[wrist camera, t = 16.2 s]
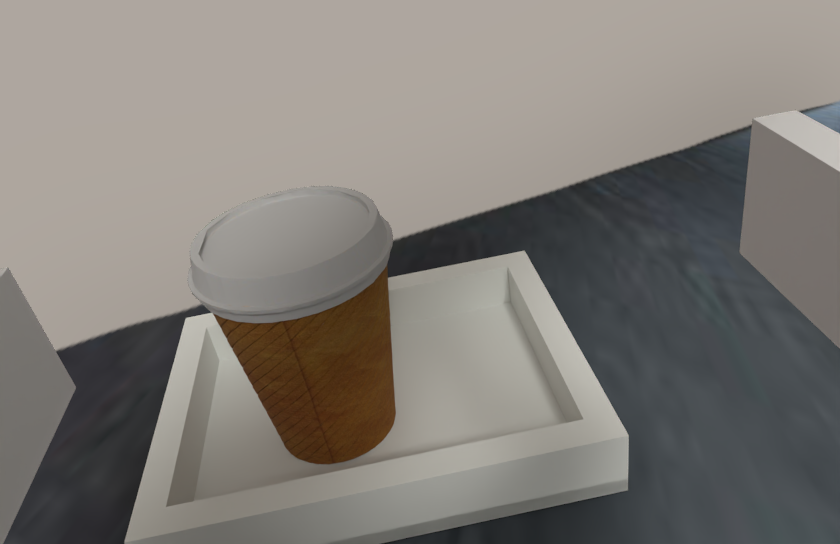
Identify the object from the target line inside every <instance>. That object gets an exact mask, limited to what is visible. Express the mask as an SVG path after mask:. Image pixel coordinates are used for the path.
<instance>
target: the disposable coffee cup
mask: <svg viewBox="0 0 840 544" xmlns="http://www.w3.org/2000/svg"><path fill="white" fill-rule="evenodd" d="M392 245H393V235H392V230H391V227H390V225H389V223H388V222H387V221H386V220H385V219H384V218H383V217H382V216H380V214H379V212H378V209H377V207H376V205H375V204H374V202H373V200H371V199H370V198H369V197H367V196H366V195H364V194H363V193H360V192H358V191H355V190H352V189H347V188H341V187H333V186H312V187H303V188H296V189H289V190H285V191H280V192H276V193H272V194H267V195H264V196H261V197H258V198H256V199H253V200H250V201H247V202H244V203H242V204H240V205H238V206H236V207H234V208H232V209H230V210H228V211H226V212H224V213H222V214H221V215H219V216H218V217H216V218H215V219H213V220H212V221H211V222H210V223H209V224H207V225H206V226H205V227H204V228H203V229H202V230H201V231H200V232H199V233H198V234H197V236H196V237H195V238H194V240H193V242H192V244H191V248H190V260H191V267H190V269H189V273H188V285H189V288H190V290H191V292H192V294H193V295H194V296H195V297H196V298H197V299H198V300H199V301H200V302H201V303H202V304H203V305H204V306H205V307H206V308H207V309H208V310H209V311H211V312H212V313H213V315H214V317H215V318H216V320H217V322H218V324H219V326H220V328H222V332H223V333H224V335H225V337H226V338H227V341H228V343H229V345H230V347H231V348H233V352H234V354H235V355H236V357H237V358H238V361H239V363H240V364H241V366H242V367H243V370H244V372H245V374H246V375H247V376H248V377H247V378H248V379H249V381H250V383H251V384H252V385H253V386H252V387H253V389H254V390H255V392H256V394H258V398H259V399H260V401H261V403H262V405H263V407H264V408H265V410H266V411H267V414H268V416H269V418H270V419H271V421H272V423H273V425H274V427H275V428H276V431H277V433H278V434H279V436H280V438H281V440H282V442H283V443H284V446H285V448H286V449H287V450H288V451H289V452H290V454H292V455H293V456H295V457H296V458H298V459H300V460H303V461H306V462H309V463H314V464H334V463H340V462H345V461H349V460H352V459H355V458H357V457H359V456H361V455H364V454H365V453H367V452H369V451H370V450H372V449H373V448H375V447H376V446H377V445H378V444H379V443H381V442H382V441H383V440H384V438H385V437H386V436H387V434H388V433H389V432H390V430H391V428H392V426H393V424H394V420H395V416H396V409H395V394H394V378H393V362H392V343H391V323H390V307H389V290H388V274H387V272H388V271H387V262H388V259H389V255H390V250H391V248H392Z"/></svg>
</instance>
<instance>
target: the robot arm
mask: <svg viewBox="0 0 840 544" xmlns="http://www.w3.org/2000/svg"><path fill="white" fill-rule="evenodd" d="M739 253H740V254H741V255H742V256H743V257H744V258H745V259H746V260H748V261H749V262H750V263H751V264H752V265H753V266H754V267H755V268H756V269H757V270H758V271H759V272H760V273H761V274H762V275H763V276H764V277H765V278H766V279H767V280H768V281H769V282H771V283H772V284H773V285H774V286H775V287H776V288H777V289H778V290H779V291H780V292H781V293H782V294H783V295H784V296H785V297H786V298H787V299H788V300H789V301H790V302H791V303H793V304H794V305H795V306H796V307H797V308H798V309H799V310H800V311H801V312H802V313H803V314H804V315H805V316H806V317H807V318H808V319H809V320H810V321H811V322H812V323H813V324H814V325H816V326H817V327H818V328H819V329H820V330H821V331H822V332H823V333H824V334H825V335H826V336H827V337H828V338H829V339H830V340H831V341H832V342H833V343H834V344H835V345H836V346H838V347H839V348H840V134H839V133H837V132H835V131H833V130H832V129H830V128H828V127H826V126H824V125H822V124H820V123H819V122H817V121H815V120H813V119H811V118H809V117H807V116H806V115H804V114H802V113H800V112H798V111H796V110H793V111H787V112H783V113H777V114H772V115H767V116H762V117H758V118H753V120H752V130H751V140H750V150H749V160H748V171H747V181H746V191H745V201H744V211H743V222H742V232H741V242H740V252H739ZM75 389H76V387H75V385H74V383H73V381H72V379H71V378H70V376H69V374H68V372H67V371H66V369H65V367H64V365H63V364H62V362H61V360H60V358H59V356H58V355H57V353H56V351H55V349H54V348H53V346H52V344H51V342H50V341H49V339H48V337H47V335H46V333H45V332H44V330H43V329H42V326H41V325H40V323H39V321H38V319H37V318H36V316H35V314H34V312H33V311H32V309H31V307H30V305H29V304H28V302H27V300H26V299H25V296H24V295H23V293H22V291H21V289H20V288H19V286H18V284H17V282H16V280H15V279H14V277H13V275H12V273H11V272H10V270H9V268H8V267H7V268H2V269H0V544H3V542H4V540H5V538H6V536H7V534H8V532H9V530H10V528H11V525H12V523H13V521H14V519H15V517H16V515H17V513H18V510H19V508H20V506H21V504H22V502H23V500H24V498H25V495H26V493H27V491H28V489H29V487H30V485H31V483H32V481H33V478H34V476H35V474H36V472H37V470H38V468H39V466H40V463H41V461H42V459H43V457H44V455H45V453H46V451H47V449H48V446H49V444H50V442H51V440H52V438H53V436H54V434H55V431H56V429H57V427H58V425H59V423H60V421H61V419H62V417H63V414H64V412H65V410H66V408H67V406H68V404H69V402H70V399H71V397H72V395H73V393H74V391H75Z"/></svg>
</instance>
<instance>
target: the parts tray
mask: <svg viewBox="0 0 840 544" xmlns="http://www.w3.org/2000/svg"><path fill="white" fill-rule="evenodd" d="M388 290H389V307H390V323H391V343H392V362H393V378H394V394H395V409H396V416H395V420H394V424H393V426H392V428H391V430H390V432H389V433H388V434H387V436H386V437H385V438H384V440H383V441H382V442H381V443H379V444H378V445H377V446H376V447H375V448H373V449H372V450H370V451H369V452H367V453H365V454H364V455H361V456H359V457H357V458H355V459H352V460H349V461H345V462H340V463H334V464H314V463H309V462H306V461H303V460H300V459H298V458H296V457H295V456H293V455H292V454H290V452H289V451H288V450H287V449H286V448H285V446H284V443H283V442H282V440H281V438H280V436H279V434H278V433H277V431H276V428H275V427H274V425H273V423H272V421H271V419H270V418H269V416H268V414H267V411H266V410H265V408H264V407H263V405H262V403H261V401H260V399H259V398H258V394H256V392H255V390H254V389H253V387H252V386H253V385H252V384H251V383H250V381H249V379H248V378H247V377H248V376H247V375H246V374H245V372H244V370H243V367H242V366H241V364H240V363H239V361H238V358H237V357H236V355H235V354H234V352H233V348H231V347H230V345H229V343H228V341H227V338H226V337H225V335H224V333H223V332H222V328H220V326H219V324H218V322H217V320H216V318H215V317H214V315H213V313H209V314H204V315H199V316H194V317H189V318H186V320H185V323H184V327H183V331H182V334H181V338H180V342H179V345H178V349H177V353H176V356H175V360H174V363H173V367H172V371H171V374H170V378H169V382H168V385H167V389H166V392H165V396H164V400H163V403H162V407H161V411H160V414H159V418H158V422H157V425H156V429H155V432H154V436H153V440H152V443H151V447H150V451H149V454H148V458H147V461H146V465H145V469H144V472H143V476H142V480H141V483H140V487H139V491H138V494H137V498H136V501H135V505H134V509H133V512H132V516H131V520H130V523H129V527H128V531H127V534H126V538H125V541H124V543H125V544H381V543H386V542H391V541H395V540H400V539H405V538H409V537H414V536H419V535H423V534H428V533H432V532H437V531H442V530H446V529H451V528H456V527H460V526H465V525H470V524H474V523H479V522H483V521H488V520H493V519H497V518H502V517H507V516H511V515H516V514H520V513H525V512H530V511H534V510H539V509H544V508H548V507H553V506H558V505H562V504H567V503H571V502H576V501H581V500H585V499H590V498H595V497H599V496H604V495H609V494H613V493H618V492H622V491H627V490H628V451H629V435H628V433H627V432H626V430H625V428H624V426H623V425H622V423H621V421H620V419H619V417H618V416H617V414H616V412H615V410H614V409H613V407H612V405H611V403H610V401H609V400H608V398H607V396H606V394H605V393H604V391H603V389H602V387H601V385H600V384H599V382H598V380H597V378H596V377H595V375H594V373H593V371H592V370H591V368H590V366H589V364H588V362H587V361H586V359H585V357H584V355H583V354H582V352H581V350H580V348H579V346H578V345H577V343H576V341H575V339H574V338H573V336H572V334H571V332H570V330H569V329H568V327H567V325H566V323H565V322H564V320H563V318H562V316H561V314H560V313H559V311H558V309H557V307H556V306H555V304H554V302H553V300H552V298H551V297H550V295H549V293H548V291H547V290H546V288H545V286H544V284H543V282H542V281H541V279H540V277H539V275H538V274H537V272H536V270H535V268H534V267H533V265H532V263H531V261H530V259H529V258H528V256H527V254H526V252H525V251H520V252H515V253H510V254H505V255H500V256H495V257H490V258H485V259H480V260H475V261H470V262H465V263H460V264H455V265H450V266H445V267H440V268H435V269H430V270H425V271H420V272H415V273H410V274H405V275H400V276H395V277H390V278H388Z"/></svg>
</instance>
